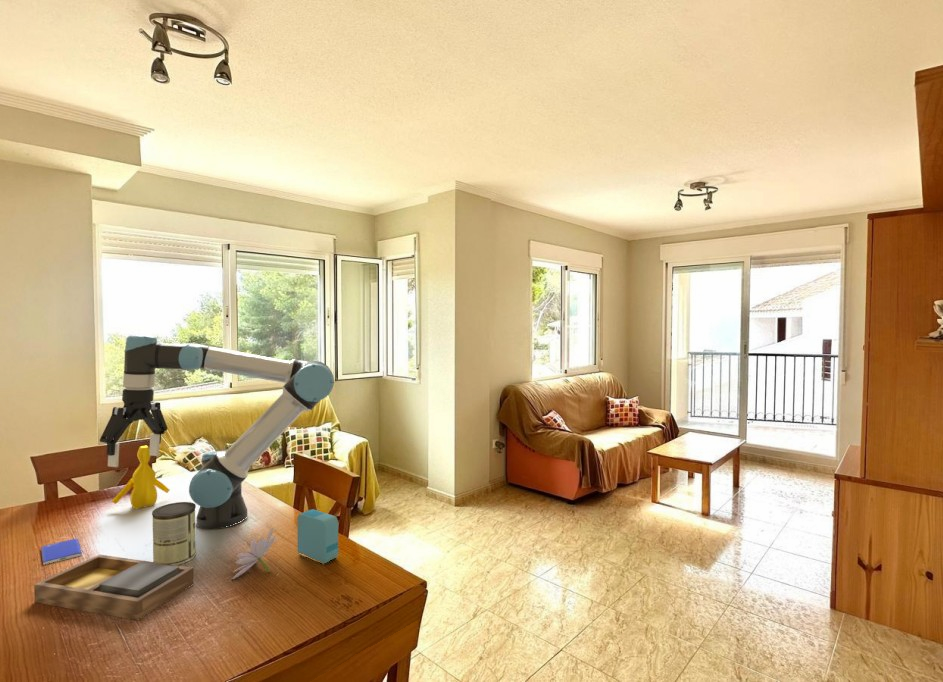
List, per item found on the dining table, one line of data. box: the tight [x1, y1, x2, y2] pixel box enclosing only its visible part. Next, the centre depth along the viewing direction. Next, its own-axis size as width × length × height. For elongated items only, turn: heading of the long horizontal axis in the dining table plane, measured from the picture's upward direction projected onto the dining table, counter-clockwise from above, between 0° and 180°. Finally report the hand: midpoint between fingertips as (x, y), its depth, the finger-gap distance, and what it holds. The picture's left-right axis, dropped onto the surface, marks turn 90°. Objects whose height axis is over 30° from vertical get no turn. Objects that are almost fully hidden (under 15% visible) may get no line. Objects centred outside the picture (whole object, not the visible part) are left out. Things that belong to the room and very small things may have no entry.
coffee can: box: [151, 501, 197, 566], centre depth 134 cm, size 10×10×14 cm
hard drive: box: [40, 538, 83, 566], centre depth 137 cm, size 2×8×12 cm
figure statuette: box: [111, 445, 171, 510], centre depth 173 cm, size 18×8×22 cm, turn 137°
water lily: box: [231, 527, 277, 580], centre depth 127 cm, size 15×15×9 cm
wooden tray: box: [33, 554, 195, 621], centre depth 116 cm, size 30×16×5 cm, turn 76°
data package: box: [296, 508, 339, 564], centre depth 135 cm, size 12×4×12 cm, turn 57°
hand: (134, 460), depth 141 cm, fingers open, 13 cm apart
